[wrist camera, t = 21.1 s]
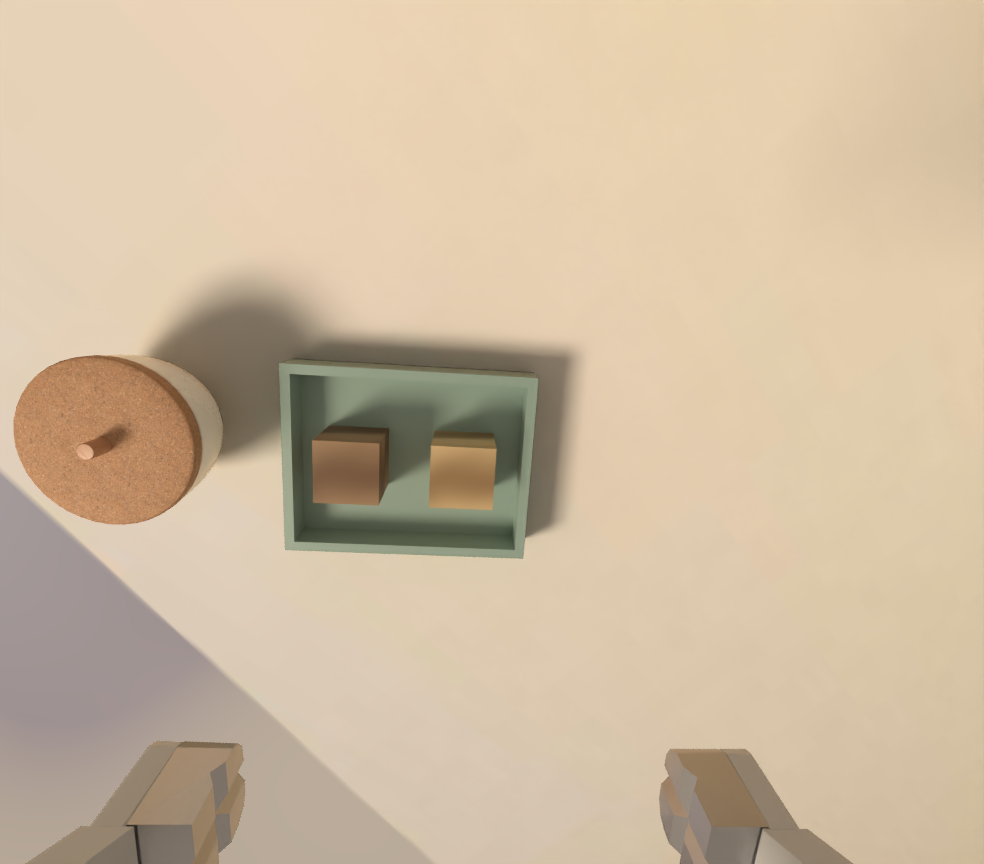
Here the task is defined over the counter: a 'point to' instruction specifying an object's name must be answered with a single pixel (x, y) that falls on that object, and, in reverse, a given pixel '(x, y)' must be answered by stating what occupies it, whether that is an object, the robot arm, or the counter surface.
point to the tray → (406, 455)
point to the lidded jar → (117, 435)
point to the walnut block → (350, 465)
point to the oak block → (462, 470)
